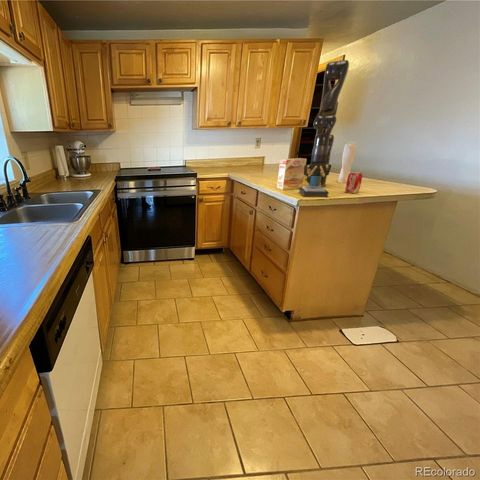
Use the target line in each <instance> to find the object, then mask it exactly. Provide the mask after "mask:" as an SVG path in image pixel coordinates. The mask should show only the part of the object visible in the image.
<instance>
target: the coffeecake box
mask: <svg viewBox="0 0 480 480" xmlns="http://www.w3.org/2000/svg"><path fill="white" fill-rule="evenodd" d="M304 165H307V158H305V157H304V158H303V157H296V158H295V157H294V158H280V159H279V167H278V176H277V183H276V189H278V190H281V191H288V190H298V189H300V188H303V186H304V185H303V184H304V179H305V175H304Z"/></svg>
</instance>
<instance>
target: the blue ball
mask: <svg viewBox="0 0 480 480" xmlns="http://www.w3.org/2000/svg"><path fill="white" fill-rule="evenodd" d="M321 179H322V175H312V174H311V175H310V183H308V186H320V185H321Z"/></svg>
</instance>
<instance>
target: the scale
mask: <svg viewBox="0 0 480 480" xmlns="http://www.w3.org/2000/svg"><path fill="white" fill-rule="evenodd" d="M299 193H300V194H301V196H303V198H328V195H329V194H330V193H329V191H328V190H327V189H326V190H325V191H305V190H304V189H303V187H302V188H300V189H299Z"/></svg>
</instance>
